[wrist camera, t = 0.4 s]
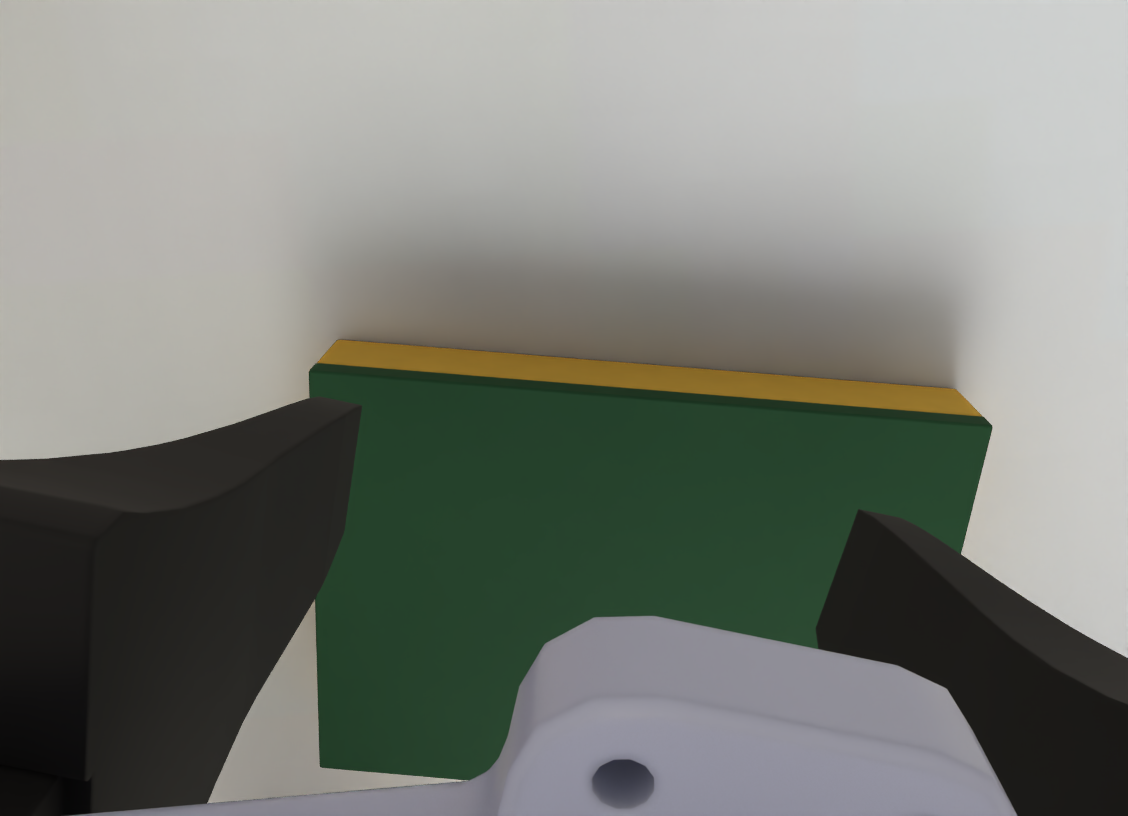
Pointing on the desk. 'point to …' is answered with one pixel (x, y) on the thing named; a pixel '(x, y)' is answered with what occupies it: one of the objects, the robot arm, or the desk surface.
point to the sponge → (590, 522)
